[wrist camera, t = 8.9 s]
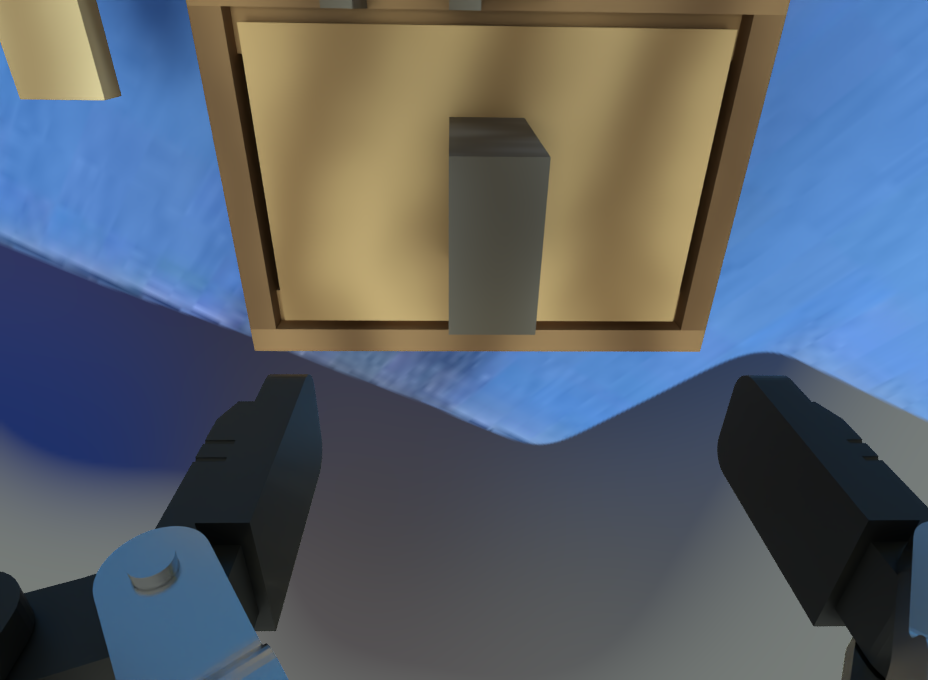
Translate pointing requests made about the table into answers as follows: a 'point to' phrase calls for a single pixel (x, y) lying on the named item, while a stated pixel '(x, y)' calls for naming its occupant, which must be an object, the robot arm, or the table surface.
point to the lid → (482, 168)
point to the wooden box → (484, 3)
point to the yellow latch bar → (57, 50)
